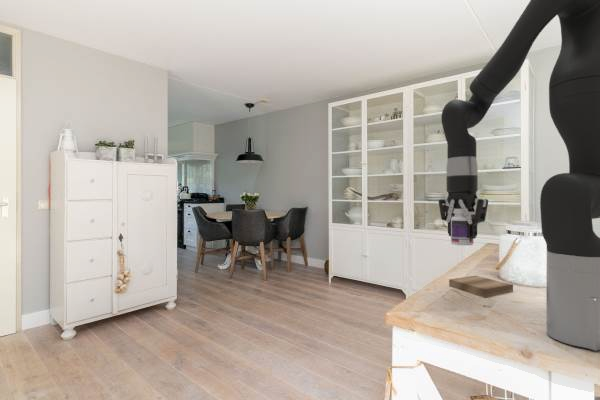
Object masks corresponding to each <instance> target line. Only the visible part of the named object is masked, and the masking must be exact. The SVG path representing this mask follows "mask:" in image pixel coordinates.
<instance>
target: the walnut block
mask: <svg viewBox="0 0 600 400" xmlns="http://www.w3.org/2000/svg"><path fill="white" fill-rule="evenodd" d="M448 286H449V287H450V288H454V289H457V290H460V291H463V292H465V293H466V292H467V293H469V294H471V295H474V296H479V297H480V298H484V299H487V298H491V297H496V296H500V295H505V294H510V293H514V284H512V283H507V282H504V281H499V280H495V279H491V278H488V277H483V276H479V275H472V276H464V277H457V278H450V279H449V281H448Z"/></svg>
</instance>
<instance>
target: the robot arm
mask: <svg viewBox="0 0 600 400" xmlns="http://www.w3.org/2000/svg"><path fill="white" fill-rule="evenodd" d="M557 16H558V19H559V26H560V35H561V36H560V37H561V43H560V44H561V45H560V50H559V51H560V52H559V54H558V56H557V60H556V62H555V64H554V67H553V68H552V71H551V74H550V78H549V83H548V105H549V114H550V117H551V119H552V122H553V124H554V126H555V128H556V130H557V132H558V134H559V136H560V137H561V139H562V140H563V143H564V145H565V147H566V150H567V154H568V155H567V156H568V163H569V164H568V165H569V166H568V167H569V168H568V169H569V171H568V172H563V173H557V174H554V175H553V176H551V177H550V178H548V179H547V180H546V181H545V183H544V184H543V187H542V189H541V191H540V197H539V199H540V202H539V204H540V205H539V208H540V222H541V223H540V224H541V234H542V237H543V239H544V241H545V244H546V290H545V291H546V292H545V293H546V298H545V299H546V303H545V305H546V311H545V312H546V321H545V324H546V334H547V336H549V337H551V338H552V339H554V340H556V341H559V342H561V343H564V344H567V345H570V346H575V347H580V348H584V349H589V350H592V351H595V352H596V351H600V237H599V236H598V235H597V234H596V232H595V231H594V227H593V220H595V219H600V0H530V1H529V2H528V4H527V5H526V7H525V8H524V10H523V12H522V13H521V15H520V16H519V18H518V20H517V21H516V22H515V24H514V26H513V27H512V29H511V30H510V32H509V33H508V35H507V37H506V38H505V39H504V41H503V43H502V44H501V45H500V47H499V48H498V49H497V51H496V52H495V53H494V55H493V56H492V57H491V58H490V59H489V60H488V62H487V63H486V64H485V66H484V67H483V68H482V69H481V70H480V71H479V73H478V74H477V75H476V76H475V78H474V79H473V80H472V82H471V83H470V85H469V90H470V92H471V94H472V95H471V96H470V97H469V99H468V100H467V101H466V100H464V99H463V100H462V99H452V100H449V101H448V102H447V103H446V104H445V105H444V106H443V107H444V108H443V109H442V111H441V116H440V117H441V118H440V119H441V126H442V129H443V133H444V134H443V135H444V138H445V140H446V143H447V151H446V153H447V160H446V161H447V163H446V192H447V198H445V199H444V198H443V199H439V200H438V206H439V212H440V213H439V214H440V218H441V220H442V221H445V222H447V234H448V236H449V237H451V218H452V217H453V216H455V214H454V209H462V211H463V214H464V216H466V218H467V221H468V223H469V224H468V238H469V239H473V240H474V239H476V238H477V236H478V225H479V224H480V223H484V222H485V221H486V217H487V212H488V211H487V210H488V205H489V200H488V199H486V198H479V197H478V196H477V192H478V190H479V189H478V187H479V185H478V184H479V182H478V178H479V177H478V175H479V173H478V170H479V169H478V168H479V167H478V160H477V140H476V138H475V137H474V136H473V135H471V134H470V133H469V129H472V128H474V127H475V126H477V125H478V124H479V123H480V122H482V120H483V119H484V118H485V116H486V114H487V113H488V111H489V109H490V108H491V106H492V104H493V102H494V100H495V99H496V98H497V96H499V94H500V93H501V92H502V91H504V89H505V88H506V87H507V86H508V84H510V82H511V81H512V80H513V79H514V78H515V77H516V76H517V74H518V73H519V72H520V70H521V68H522V67H523V64H524V63H525V60H526V59H527V56H528V54H529V52H530V50H531V49H532V45H533V44H534V43H535V41H536V39H537V38H538V36H539V35H540V33H541V32H542V31H543V30H544V29H545V27H546V26H547V25H548V24H549V23H550V22H552V20H553V19H554V18H555V17H557ZM475 206H476V207H475Z"/></svg>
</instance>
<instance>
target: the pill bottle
mask: <svg viewBox="0 0 600 400" xmlns="http://www.w3.org/2000/svg"><path fill="white" fill-rule="evenodd" d="M454 214H455V216H453V217H452V218H451V236H450V243H451V244H452V245H455V246H466V247H467V246H474V239H469V238H468V224H469V223H468V221H467V218H466V216H464V214H463V211H462V209H454Z"/></svg>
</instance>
